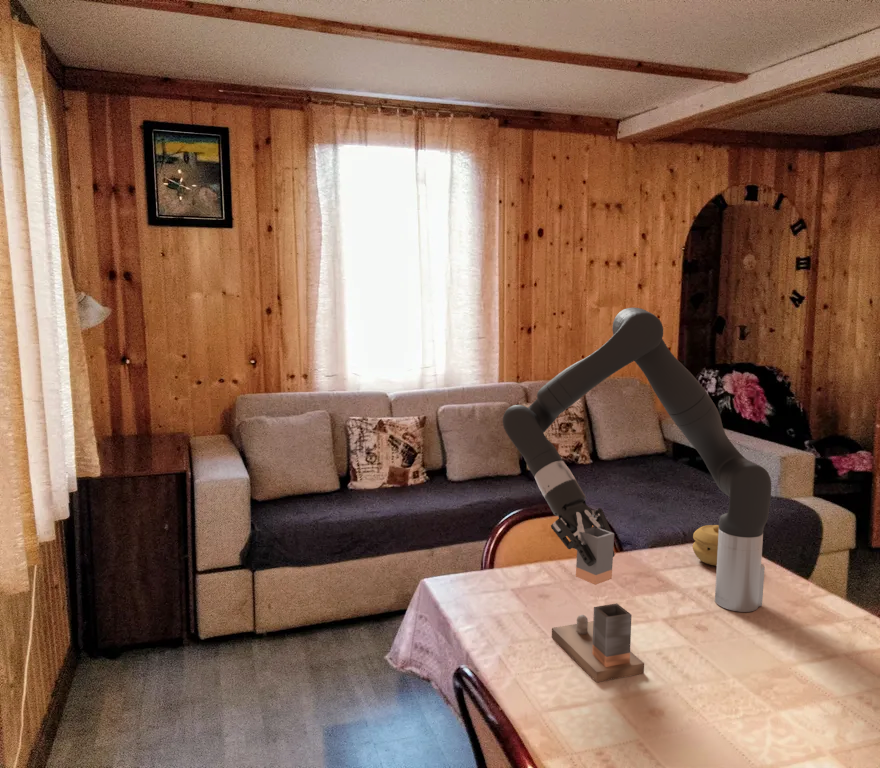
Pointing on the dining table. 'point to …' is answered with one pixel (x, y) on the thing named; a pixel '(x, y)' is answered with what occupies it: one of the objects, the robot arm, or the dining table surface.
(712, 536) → the pot
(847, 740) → the dining table surface
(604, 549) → the sleeve
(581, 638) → the pin board
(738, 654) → the dining table surface
